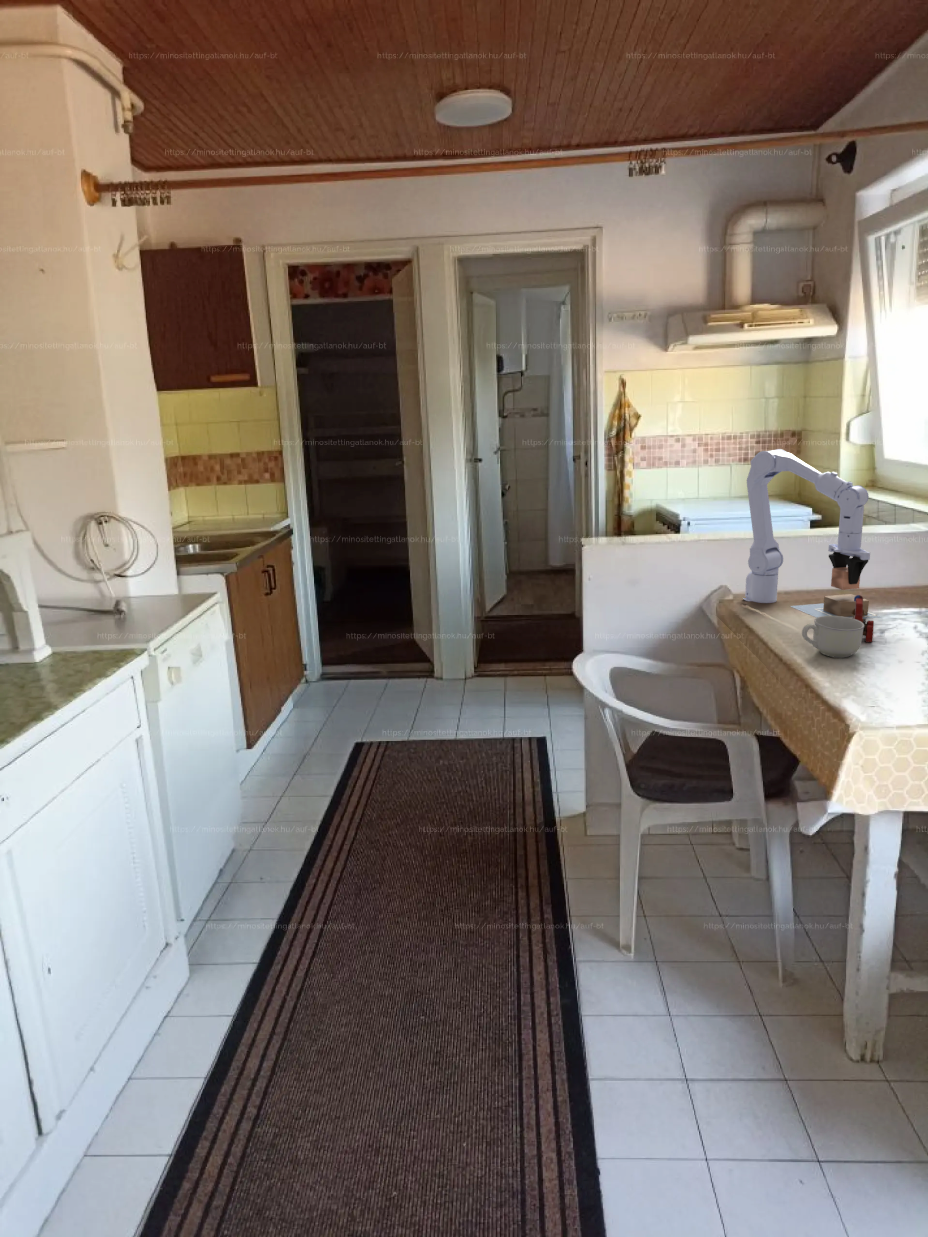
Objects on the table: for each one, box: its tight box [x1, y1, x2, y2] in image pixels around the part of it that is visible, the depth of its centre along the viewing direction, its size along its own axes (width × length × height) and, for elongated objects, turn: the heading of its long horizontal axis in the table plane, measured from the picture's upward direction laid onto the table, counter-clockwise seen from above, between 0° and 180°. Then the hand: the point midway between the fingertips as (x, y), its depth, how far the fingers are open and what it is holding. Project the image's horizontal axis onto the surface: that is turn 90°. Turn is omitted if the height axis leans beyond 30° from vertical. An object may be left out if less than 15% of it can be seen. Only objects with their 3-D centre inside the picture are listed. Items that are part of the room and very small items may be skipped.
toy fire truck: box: [852, 594, 875, 643], centre depth 208 cm, size 7×12×10 cm, turn 154°
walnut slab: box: [823, 593, 870, 617], centre depth 229 cm, size 8×8×4 cm
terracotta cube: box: [830, 566, 861, 591], centre depth 227 cm, size 5×5×5 cm
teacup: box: [801, 616, 864, 659], centre depth 197 cm, size 14×11×8 cm
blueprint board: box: [789, 602, 881, 620], centre depth 231 cm, size 18×16×1 cm
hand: (846, 581), depth 228 cm, fingers closed on terracotta cube, 5 cm apart
